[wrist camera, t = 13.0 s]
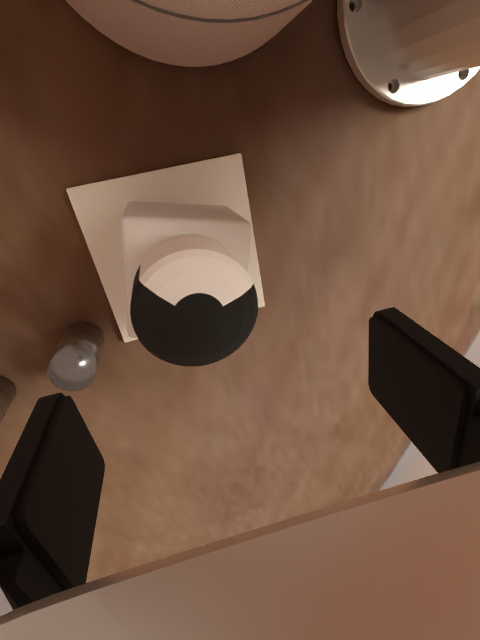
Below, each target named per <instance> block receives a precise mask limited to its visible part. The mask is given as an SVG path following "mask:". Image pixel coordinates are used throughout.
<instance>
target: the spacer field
mask: <svg viewBox="0 0 480 640" xmlns="http://www.w3.org/2000/svg"><path fill="white" fill-rule="evenodd" d="M103 341H104V337H103V333H102V331H101V330H100V329H99V328H98V327H97V326H96V325H94V324H92V323H89V322H76V323H73V324H71V325H70V326H68V327H67V329H66V330H65V332H64V334H63V336H62V338H61V340H60V342H59V345H58V347H57V349H56V351H55V353H54V355H53V357H52V359H51V361H50V363H49V366H48V369H47V374H48V378H49V380H50V381H51V382H52V383H53V384H54V385H55V386H56V387H58V388H60V389H63V390H67V391H77V390H81V389H84V388H86V387H88V386H89V385H90V384H91V383H92V382H93V380H94V378H95V374H96V370H97V366H98V362H99V358H100V354H101V350H102V346H103ZM15 396H16V387H15V385H14V383H13V382H12V381H11V380H9V379H8V378H6V377H4V376H1V375H0V423H1V421H2V419H3V418H4V416H5V414H6V412H7V410H8V408H9V407H10V405H11V403H12V401H13V399H14V398H15Z"/></svg>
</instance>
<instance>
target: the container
mask: <svg viewBox="0 0 480 640" xmlns="http://www.w3.org/2000/svg"><path fill="white" fill-rule="evenodd" d="M65 1H66V2H67V3H68V4H69V5H70V6H71V7H72V8H73V9H74V10H75V11H76V12H77V13H78V14H79V15H80V16H81V17H82V18H84V19H85V20H86V21H87V22H88V23H90V24H91V25H92V26H93V27H94V28H96V29H97V30H98V31H99V32H101V33H102V34H104V35H105V36H107V37H108V38H110V39H111V40H112V41H114V42H115V43H117V44H119V45H121V46H122V47H124V48H126V49H128V50H130V51H132V52H134V53H136V54H138V55H141V56H143V57H146V58H148V59H151V60H154V61H158V62H162V63H165V64H170V65H176V66H183V67H204V66H212V65H218V64H222V63H226V62H230V61H233V60H235V59H238V58H240V57H243V56H245V55H247V54H249V53H251V52H252V51H254V50H256V49H257V48H259V47H261V46H262V45H263V44H265V43H266V42H267V41H269V40H270V39H271V38H273V37H274V36H275V35H276V34H277V33H278V32H279V31H280V30H281V29H283V28H284V27H285V26H286V25H287V24H288V23H289V22H290V21H291V20H292V19H293V18H294V17H295V16H297V15H298V14H299V13H300V12H301V11H302V10H303V9H304V8H305V7H306V6H307V5H308V4H310V3H311V2H312V1H313V0H65Z"/></svg>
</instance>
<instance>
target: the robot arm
mask: <svg viewBox="0 0 480 640" xmlns="http://www.w3.org/2000/svg"><path fill="white" fill-rule="evenodd" d="M349 4H350V5H351V8H352V9H351V10H350V7H349ZM337 18H338V25H339V32H340V39H341V42H342V46H343V49H344V52H345V56H346V59H347V61H348V63H349V65H350V67H351V69H352V71H353V73H354V75H355V76H356V77H357V79H358V80H359V81H360V83H361V84H362V85H363V86H364V88H365V89H366V90H368V91H369V92H370V93H371V94H372V95H374V96H375V97H376V98H377V99H379V100H382V101H384V102H386V103H388V104H390V105H395V106H401V107H414V106H422V105H426V104H431V103H435V102H437V101H439V100H442V99H444V98H446V97H449V96H450V95H451V94H453V93H454V92H456V91H457V90H459V89H460V88H462V87H463V86H464V85H465V84H466V83H467V82H468V81H469V80H470V79H471V78H472V77H473V76H474V75H475V74H476V73H477V72H478V71H479V70H480V0H337ZM388 87H389V88H388ZM368 383H369V388H370V391H371V393H372V394H373V396H374V397H375V398H376V399H377V401H378V402H379V403H380V404H381V405H382V407H383V408H384V409H385V410H386V411H387V413H388V414H389V415H390V416H391V417H392V419H393V420H394V421H395V422H396V423H397V424H398V426H399V427H400V428H401V429H402V430H403V432H404V433H405V434H406V435H407V436H408V438H409V439H410V440H411V441H412V442H413V444H414V445H415V446H416V447H417V448H418V449H419V451H420V452H421V453H422V454H423V456H424V457H425V458H426V459H427V460H428V461H429V463H430V464H431V465H432V466H433V467H434V469H435V470H436V471H437V472H438V474H434V475H431V476H427V477H424V478H421V479H418V480H414V481H411V482H408V483H405V484H402V485H398V486H395V487H392V488H388V489H385V490H381V491H378V492H375V493H372V494H368V495H365V496H362V497H358V498H355V499H352V500H349V501H345V502H342V503H339V504H335V505H332V506H329V507H326V508H322V509H319V510H316V511H313V512H310V513H306V514H303V515H300V516H297V517H293V518H290V519H287V520H284V521H280V522H277V523H274V524H271V525H268V526H264V527H261V528H258V529H255V530H252V531H248V532H245V533H242V534H239V535H235V536H232V537H229V538H226V539H223V540H219V541H216V542H213V543H210V544H207V545H204V546H200V547H197V548H194V549H191V550H188V551H185V552H182V553H178V554H175V555H172V556H169V557H166V558H163V559H159V560H156V561H153V562H150V563H147V564H144V565H140V566H137V567H134V568H131V569H128V570H125V571H122V572H119V573H116V574H113V575H110V576H107V577H104V578H101V579H98V580H95V581H92V582H89V583H86V578H87V572H88V566H89V560H90V554H91V548H92V542H93V536H94V530H95V524H96V518H97V512H98V506H99V500H100V494H101V489H102V483H103V477H104V470H105V464H104V460H103V457H102V455H101V453H100V451H99V449H98V447H97V445H96V443H95V442H94V440H93V438H92V436H91V434H90V432H89V430H88V428H87V426H86V424H85V422H84V420H83V418H82V417H81V415H80V413H79V411H78V409H77V407H76V405H75V403H74V401H73V399H72V398H71V397H70V396H64V395H63V394H62V393H57V394H53V395H49V396H45V397H42V398H39V399H38V401H37V403H36V405H35V407H34V409H33V411H32V413H31V416H30V418H29V420H28V422H27V424H26V426H25V428H24V431H23V433H22V435H21V437H20V439H19V441H18V443H17V445H16V448H15V450H14V452H13V454H12V456H11V458H10V460H9V462H8V465H7V467H6V469H5V471H4V473H3V475H2V477H1V479H0V640H480V368H479V367H477V366H476V365H475V364H473V363H472V362H470V361H469V360H468V359H466V358H465V357H463V356H462V355H461V354H459V353H458V352H456V351H455V350H454V349H452V348H451V347H449V346H448V345H447V344H445V343H444V342H442V341H441V340H440V339H438V338H437V337H435V336H434V335H432V334H431V333H430V332H428V331H427V330H425V329H424V328H423V327H421V326H420V325H418V324H417V323H416V322H414V321H413V320H411V319H410V318H409V317H407V316H406V315H404V314H403V313H402V312H400V311H399V310H397V309H396V308H394V307H393V308H388V309H384V310H380V311H376V312H375V313H374V315H373V317H371V318H370V320H369V379H368Z"/></svg>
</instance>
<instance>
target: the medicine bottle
mask: <svg viewBox="0 0 480 640" xmlns="http://www.w3.org/2000/svg"><path fill="white" fill-rule="evenodd" d="M120 232H121V247H122V262H123V277H124V291H125V306H126V321H127V333H128V335H129V336H130V337H131V338H138V339H139V340H140V342H141V343H142V345H143V346H144V347H145V348H146V349H147V350H148V351H149V352H151V353H152V354H153V355H155V356H156V357H158V358H160V359H161V360H164V361H166V362H168V363H172V364H175V365H181V366H202V365H207V364H211V363H214V362H217V361H219V360H221V359H224V358H226V357H227V356H229V355H230V354H232V353H233V352H234V351H236V350H237V349H238V348H239V347H240V346H241V345H242V344H243V343H244V342H245V340H246V339H247V338H248V336H249V335H250V333H251V331H252V329H253V327H254V324H255V322H256V318H257V312H258V298H257V292H256V289H255V286H254V283H253V282H252V280H251V278H250V276H249V275H248V262H249V251H250V239H251V224H250V223H249V222H248V221H247V220H246V219H244V218H243V217H241V216H240V215H239V214H237V213H236V212H234V211H233V210H232V209H230V208H229V207H228V206H225V205H206V204H185V203H164V202H143V201H130V202H129V203H128V204H127V206H126V209H125V211H124V213H123V216H122V218H121V221H120Z"/></svg>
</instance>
